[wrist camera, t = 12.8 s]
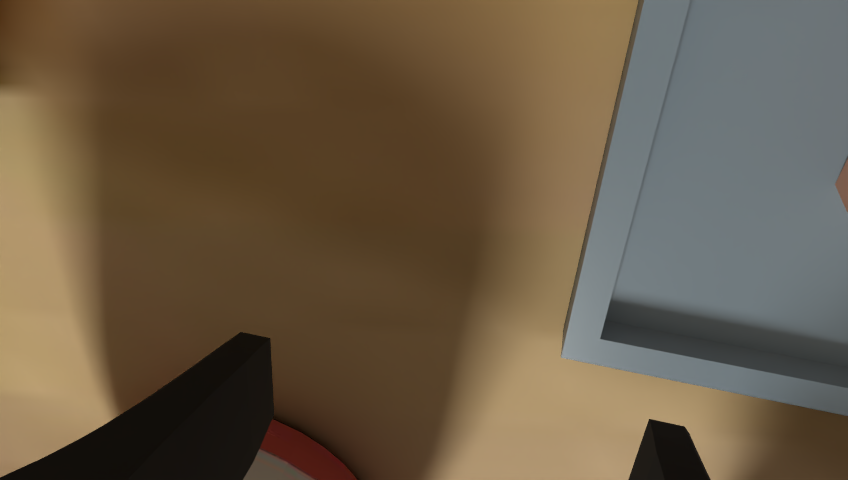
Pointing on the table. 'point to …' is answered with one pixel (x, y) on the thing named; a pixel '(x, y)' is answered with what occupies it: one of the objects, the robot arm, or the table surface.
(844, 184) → the long salmon pink stick
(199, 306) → the table surface
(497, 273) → the table surface
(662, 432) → the robot arm
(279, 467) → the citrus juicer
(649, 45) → the tray
